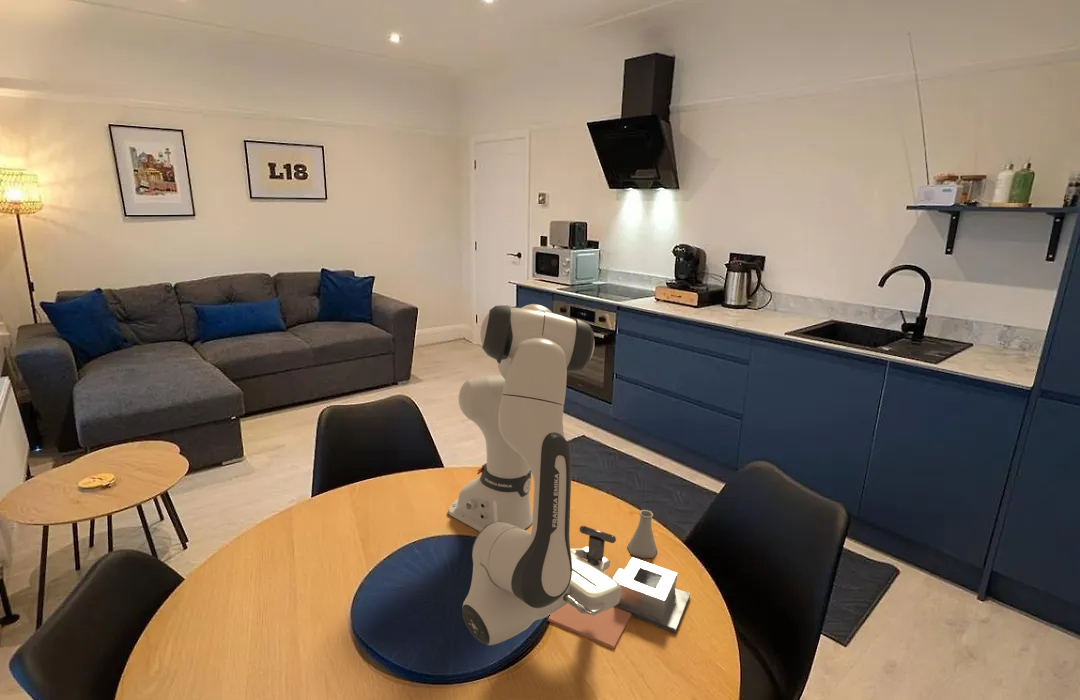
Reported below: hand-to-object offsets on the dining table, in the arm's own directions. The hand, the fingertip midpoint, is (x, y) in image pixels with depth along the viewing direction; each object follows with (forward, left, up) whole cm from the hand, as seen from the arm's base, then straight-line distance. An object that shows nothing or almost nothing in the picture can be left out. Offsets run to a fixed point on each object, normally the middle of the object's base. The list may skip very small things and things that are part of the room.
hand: (598, 556), depth 106 cm
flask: (+2, +27, -14) cm, 31 cm away
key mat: (0, -1, -14) cm, 14 cm away
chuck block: (+8, +10, -14) cm, 19 cm away
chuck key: (0, -1, -8) cm, 9 cm away
